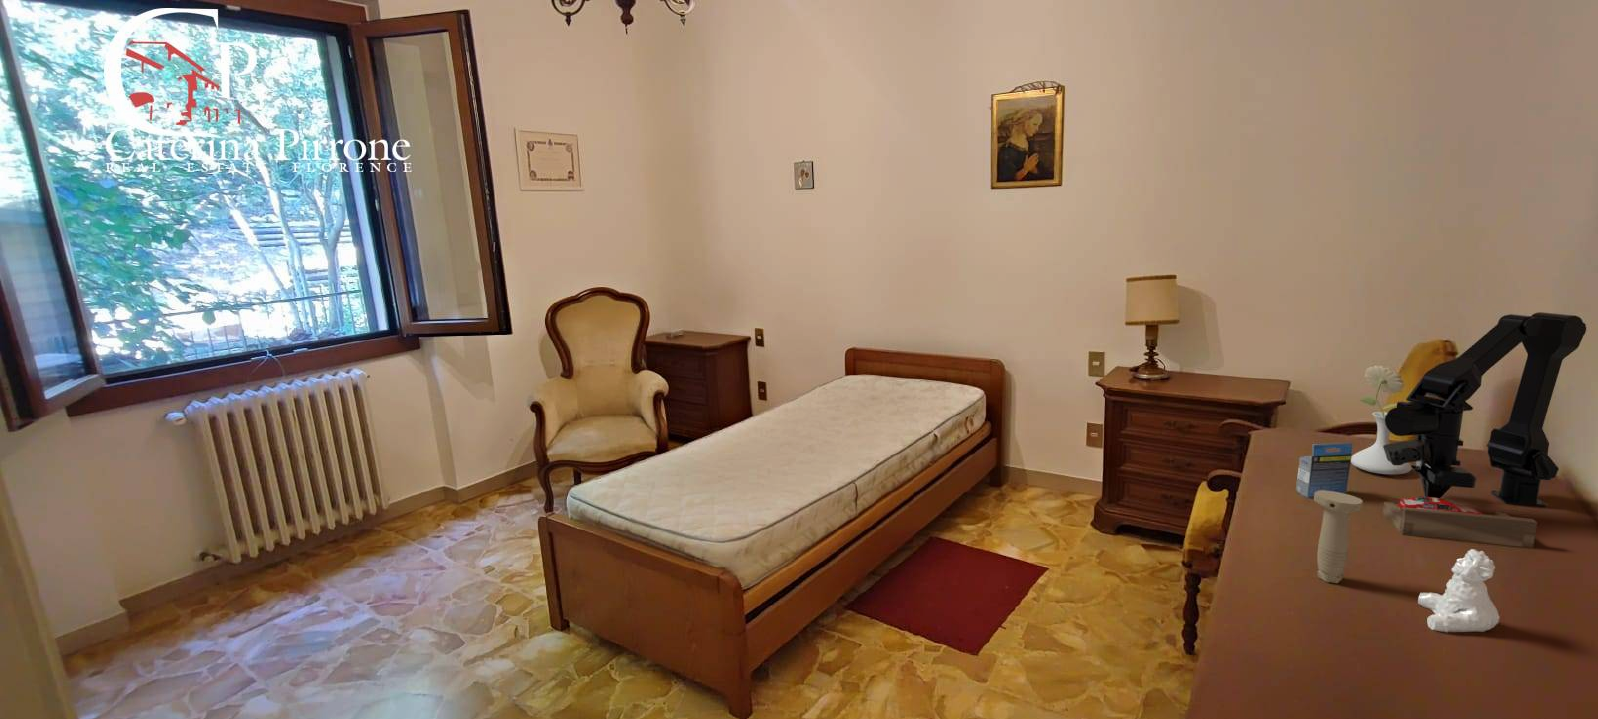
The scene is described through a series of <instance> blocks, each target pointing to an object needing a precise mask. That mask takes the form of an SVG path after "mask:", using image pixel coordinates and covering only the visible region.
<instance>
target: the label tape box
mask: <svg viewBox="0 0 1598 719" xmlns="http://www.w3.org/2000/svg"><path fill="white" fill-rule="evenodd" d="M1332 448H1333V449H1334V450H1338V451H1327V450H1331V449H1332ZM1352 452H1353V443H1352V442H1348V443H1322V444H1321V443H1320V444H1319V443H1318V444H1316V443H1314V444H1313V443H1312V455H1305V456H1300V457H1299V460H1298V461H1299V462H1298V469H1297V475H1296V476H1297V477H1296V486H1295V492H1297V493H1298V494H1299V495H1301V496H1303V497H1305V498H1309V499H1311V498H1314V493H1315V492H1316V491H1320V490H1325V491H1334V492H1339V493H1344V494H1347V489H1348V483H1349V477H1350V476H1349V475H1350V469H1351V465H1352V463H1351V457H1352V456H1353V453H1352Z"/></svg>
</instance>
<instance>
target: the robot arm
mask: <svg viewBox="0 0 1598 719" xmlns="http://www.w3.org/2000/svg"><path fill="white" fill-rule="evenodd" d="M1586 332H1587V324H1586V323H1585V322H1583V319H1582V318H1581V317H1580V316H1577V315H1571V314H1562V313H1553V312H1551V313H1550V312H1542V311H1541V312H1535V313H1532V315H1530V316H1529V315H1524V314H1523V315H1522V314H1513V313H1511V314H1510V313H1509V314H1506V315H1502V316H1501V317H1499V319H1498V321H1497V323H1496V325H1495V326H1493V327H1492V328H1491V329H1490V330H1489V331H1487V333H1485V334H1484V335H1482V337H1481V338H1479V339H1478V340H1477V341H1476V342H1474V343H1473V344H1472V345H1471V346H1469V348H1468V349H1466V350H1465V351H1464V352H1463V353H1461V354H1460V355H1459V356H1458V357H1456V358H1455V359H1451V360H1449V361H1445V362H1442V363H1439V364H1437V365H1436V366H1434V367H1433V368H1431V369H1429V370H1428V371H1426V372H1425V373H1424V375H1422V377H1421V379H1420V381H1418V383H1417V384H1416V385H1415V387H1414V388H1413V389H1412V390H1411V392H1410V393H1409V395H1408V396H1407V397H1406V401H1404V400H1403V401H1397V402H1396V404H1397V405H1396V407H1392V408H1390V409H1389V411H1388V412H1386V413H1387V415H1386V416H1385V424H1386V427H1387V428H1388V430H1389V431H1390V434H1393V435H1395V436H1398V437H1404V436H1405V437H1409V436H1414V439H1410V440H1403V441H1397V442H1392V443H1389V444H1386V445H1384V446H1383V448H1384V451H1385V454H1386V457H1387V460H1388V461H1390V462H1391V463H1392V465H1403V464H1404V463H1414V462H1415V465H1411V464H1410V465H1411V468H1412V469H1413V471H1415V472H1416V474H1418V475H1419V476H1420V479H1421V480H1420V481H1421V484H1422V488H1423V494H1424V497H1436V498H1441V499H1442V497H1443V496H1444V495H1445V494H1446V493H1447V492H1449V490H1450V488H1451V489H1452V487H1454V488H1455V487H1456V488H1465V489H1467V488H1468V489H1474V488H1475V486H1476V481H1477V478H1476V477H1475V476H1474V475H1473V474H1472V473H1471V472H1469V471H1468V470H1467V469H1466V468H1464V467H1460V466H1461V460H1460V459H1459V458H1457V457H1458V449H1459V447H1463V446H1464V441H1463V440H1462V439H1460V436H1461V428H1462V422H1463V415H1464V412H1468V411H1469V412H1470V411H1473V410H1474V407H1473V406H1472V405H1471V404H1469V403H1468V402H1467V401H1468V400H1469V399H1471V397H1472V396H1473V395H1475V393H1476V392H1477V391H1478V390H1479V389H1480V387H1481V386H1482V378H1483V376H1484V375H1485V374H1486V373H1487V372H1488V371H1489V370H1490V369H1491V368H1493V367H1494V366H1495V365H1496V364H1497V363H1498V362H1500V361H1501V360H1502V359H1504V357H1505V356H1507V355H1508V354H1509V353H1511V351H1513V350H1514V349H1515V348H1516V347H1517V346H1519V345H1520V344H1521V343H1522V346H1523V348H1524V350H1525V352H1526V354H1527V356H1526V360H1525V363H1524V367H1523V369H1522V370H1523V371H1522V374H1521V377H1520V381H1519V384H1518V388H1517V392H1516V395H1515V399H1514V402H1513V405H1512V408H1511V412H1510V415H1509V419H1508V422H1507V423H1505V424H1504V425H1503V426H1502V427H1500V428H1493V429H1492V430H1491V432H1490V436H1489V437H1490V438H1489V441H1488V442H1487V444H1486V447H1487V455H1488V457H1489V463H1490V467H1492V468H1497V469H1500V470H1502V474H1501V480H1500V486H1499V490H1490V493H1491V494H1492V495H1493V496H1495V497H1496V498H1497V499H1499V500H1501V502H1503V503H1504V504H1512V505H1523V506H1534V507H1535V506H1536V507H1547V504H1546V503H1545V502H1544V501H1543V500H1541V499H1539V493H1540V488H1541V487H1540V486H1541V480H1542V481H1543V480H1544V481H1551V480H1552V479H1554V478H1556V476H1557V474H1558V472H1559V470H1560V469H1559V467H1558V466H1557V464H1556V463H1555V462H1554V460H1552V458H1551V457H1550V456H1549V454H1548V453H1549V447H1550V443H1549V440H1548V438H1547V435H1546V434H1545V432H1544V429H1543V428H1544V427H1543V426H1544V423H1545V420H1546V416H1547V414H1548V410H1549V407H1550V404H1551V400H1552V397H1553V393H1554V390H1555V388H1556V382H1557V380H1558V377H1559V373H1560V370H1561V366H1562V363H1563V361H1564V359H1565V358H1567V357H1568V356H1570V355H1571V354H1572V353H1574V352H1575V351H1576V350H1577V349H1578V348H1579V347H1580V345H1581V342H1582V340H1583V338H1584V336H1585V335H1586Z"/></svg>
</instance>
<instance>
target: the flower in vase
mask: <svg viewBox="0 0 1598 719" xmlns="http://www.w3.org/2000/svg"><path fill="white" fill-rule="evenodd" d="M1363 376H1364V377H1365V378H1366V381H1367V382H1368V383H1369V385H1370V386H1371V387H1373V388H1375V389H1376V392H1375V397H1374V398H1372V397H1371V396H1369V395H1366V396H1363V397H1362V398H1361V399H1360V400H1359V401H1360V402H1362V403H1365V404H1367V405H1370V406H1372V407H1373V406H1375V405H1377V406H1378V408H1379V410H1380V411H1376V412H1375V411H1374V412H1372V413H1371V415H1372V416H1373V417H1374V419H1375V422H1376V425H1377V426H1376V427H1377V435H1376V440H1375V442H1374V443H1373V445H1370V446H1369V447H1367V448H1365V449H1362V450H1360V451H1358V452H1356V453H1354V454H1352V456H1351V465H1353V466H1354V467H1356V468H1358V469H1360V470H1362V471H1366V472H1370V473H1375V474H1381V475H1391V476H1392V475H1401V474H1408V473H1409V472H1411V470H1412V469H1413V468H1411V462H1409V463H1404V464H1403V465H1392V463H1391V462H1390V461H1388V460H1387V457H1386V454H1385V451H1384V448H1383V446H1384V445H1386V444H1390V437H1391V436H1390V435H1391V432H1390V431H1389V430H1388V428H1387V427H1386V424H1385V416H1386V415H1387V413H1388V412H1385V411H1384V410H1386V409H1392V408H1395V406H1396V407H1397V403H1391V404H1388V405H1386V406H1384V407H1381V405H1380V403H1379V401H1378V393H1379V391H1381V392H1382V393H1388V394H1392V393H1393V394H1397V393H1401V392H1402V389H1403V388H1404V386H1405V384H1404V383H1405V381H1404V380H1402V376H1401V375H1399V374H1398V373H1397V372H1396V371H1392V370H1391V368H1390V367H1383V366H1382V365H1379V366H1378V365H1374V366H1369V367H1368V368H1366V371H1365V374H1364V375H1363Z"/></svg>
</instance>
